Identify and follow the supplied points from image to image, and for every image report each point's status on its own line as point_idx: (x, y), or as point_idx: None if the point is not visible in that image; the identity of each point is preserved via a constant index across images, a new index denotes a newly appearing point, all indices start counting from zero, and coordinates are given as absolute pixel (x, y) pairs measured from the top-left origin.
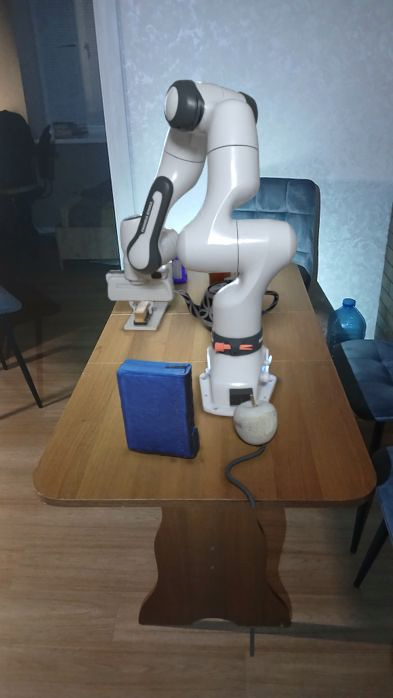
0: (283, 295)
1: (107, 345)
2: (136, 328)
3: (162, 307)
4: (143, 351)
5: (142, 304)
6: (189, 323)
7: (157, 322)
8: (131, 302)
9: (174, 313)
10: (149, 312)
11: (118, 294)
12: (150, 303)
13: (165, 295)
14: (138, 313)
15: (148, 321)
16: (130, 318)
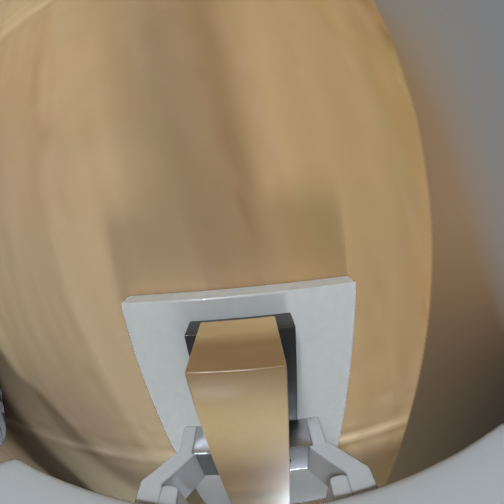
0: (2, 461)
1: (367, 53)
2: (263, 288)
3: (209, 488)
4: (129, 21)
5: (263, 487)
6: (39, 373)
7: (147, 371)
8: (350, 482)
9: (146, 458)
10: (193, 431)
11: (484, 489)
12: (164, 488)
13: (14, 496)
14: (235, 367)
15: None
16: (339, 397)
